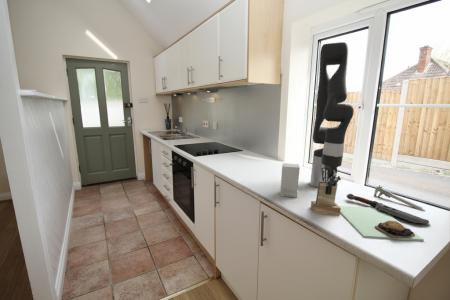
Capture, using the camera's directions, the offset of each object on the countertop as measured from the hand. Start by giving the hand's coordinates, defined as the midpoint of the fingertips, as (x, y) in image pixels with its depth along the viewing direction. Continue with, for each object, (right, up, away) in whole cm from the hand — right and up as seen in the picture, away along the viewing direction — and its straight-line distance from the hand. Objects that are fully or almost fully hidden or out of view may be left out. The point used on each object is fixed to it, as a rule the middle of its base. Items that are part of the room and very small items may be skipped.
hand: (327, 193), depth 94 cm
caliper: (+40, -8, +14) cm, 43 cm away
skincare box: (-11, -4, +18) cm, 22 cm away
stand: (0, -8, +2) cm, 8 cm away
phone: (+23, 0, +51) cm, 56 cm away
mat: (+15, -10, -6) cm, 19 cm away
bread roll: (+18, -11, -14) cm, 25 cm away
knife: (+26, -8, +4) cm, 28 cm away
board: (-1, -7, +2) cm, 7 cm away
